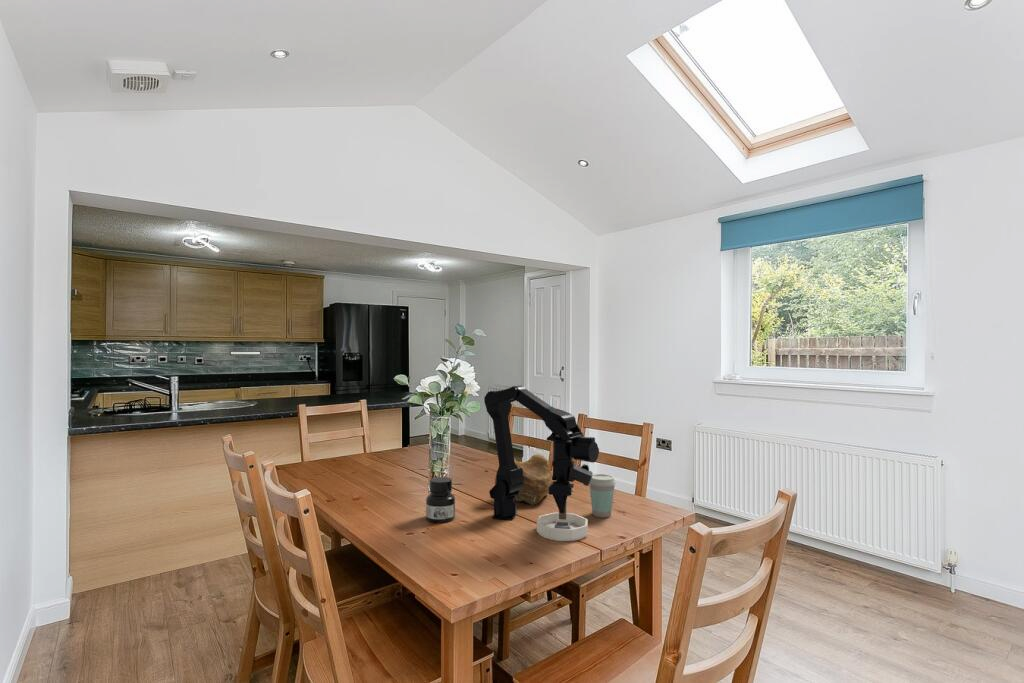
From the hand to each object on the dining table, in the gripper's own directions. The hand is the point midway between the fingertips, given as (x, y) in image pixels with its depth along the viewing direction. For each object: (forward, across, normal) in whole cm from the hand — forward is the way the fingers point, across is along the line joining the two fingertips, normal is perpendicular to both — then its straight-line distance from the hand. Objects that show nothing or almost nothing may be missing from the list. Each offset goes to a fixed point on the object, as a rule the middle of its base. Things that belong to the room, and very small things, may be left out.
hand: (562, 511), depth 147 cm
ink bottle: (+6, +4, +38) cm, 39 cm away
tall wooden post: (+2, 0, 0) cm, 2 cm away
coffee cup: (+6, +18, -11) cm, 22 cm away
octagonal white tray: (+6, 0, 0) cm, 6 cm away
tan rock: (+6, +29, +14) cm, 33 cm away
